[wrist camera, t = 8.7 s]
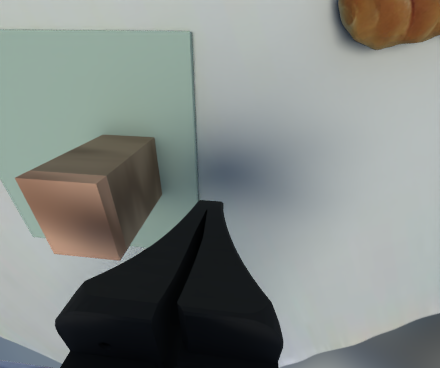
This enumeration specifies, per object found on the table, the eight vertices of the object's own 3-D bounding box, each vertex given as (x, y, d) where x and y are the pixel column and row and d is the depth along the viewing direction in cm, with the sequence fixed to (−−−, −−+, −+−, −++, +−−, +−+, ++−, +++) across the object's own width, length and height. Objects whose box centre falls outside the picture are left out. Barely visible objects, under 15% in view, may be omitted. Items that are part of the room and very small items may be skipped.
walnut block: (162, 194, 18) (120, 260, 12) (117, 191, 18) (54, 253, 12) (154, 137, 15) (96, 183, 9) (102, 134, 16) (14, 177, 10)
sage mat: (200, 248, 22) (199, 252, 21) (37, 232, 23) (32, 236, 22) (191, 32, 13) (189, 31, 12) (-73, 30, 14) (-85, 29, 14)
